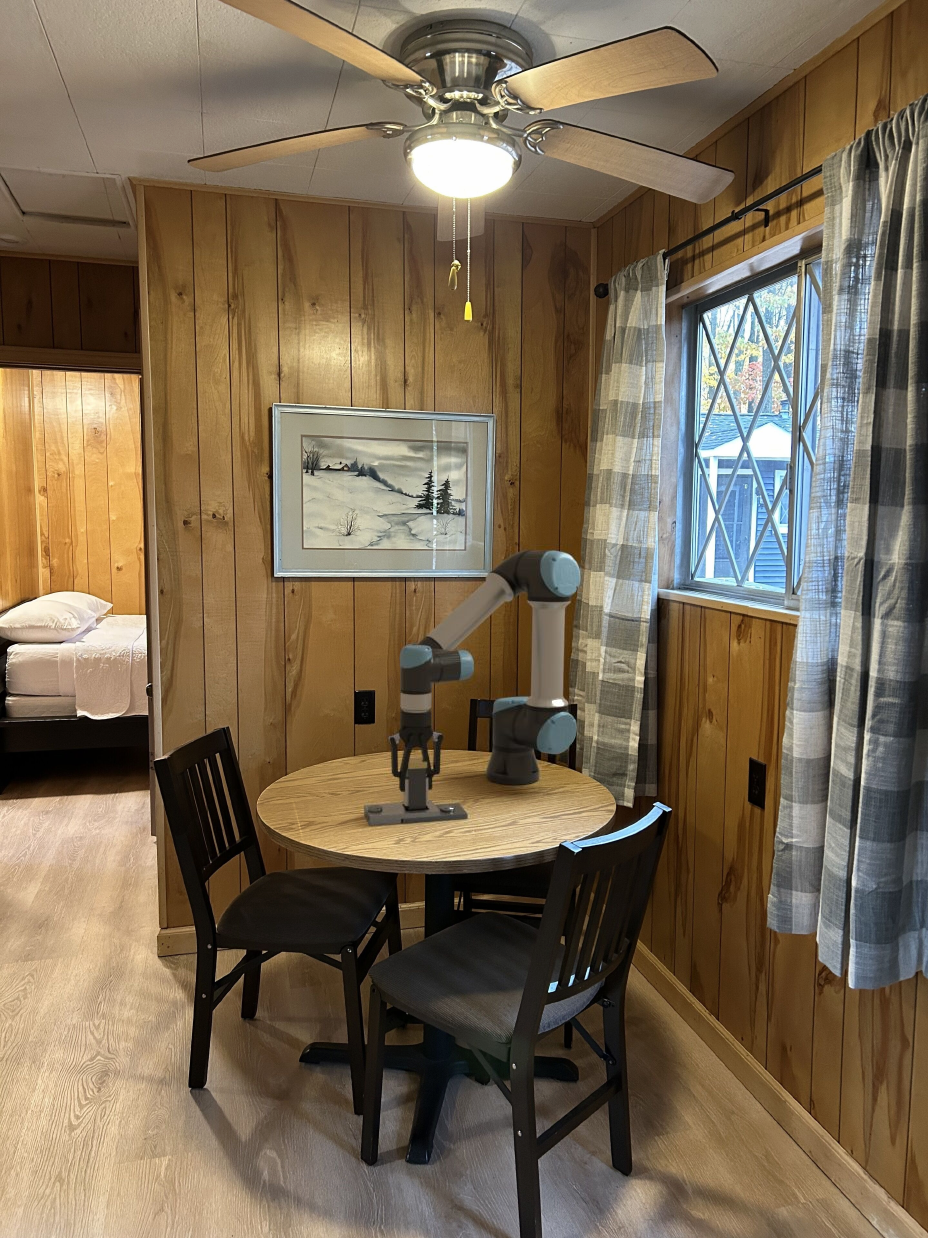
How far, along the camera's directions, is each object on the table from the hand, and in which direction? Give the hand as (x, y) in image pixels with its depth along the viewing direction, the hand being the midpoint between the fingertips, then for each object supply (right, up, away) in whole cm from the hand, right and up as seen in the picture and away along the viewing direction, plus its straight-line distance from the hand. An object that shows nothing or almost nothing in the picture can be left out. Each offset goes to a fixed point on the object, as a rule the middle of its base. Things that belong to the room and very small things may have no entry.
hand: (415, 803), depth 223 cm
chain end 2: (+4, -3, +1) cm, 5 cm away
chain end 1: (-4, -3, -1) cm, 5 cm away
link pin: (0, -2, 0) cm, 2 cm away
